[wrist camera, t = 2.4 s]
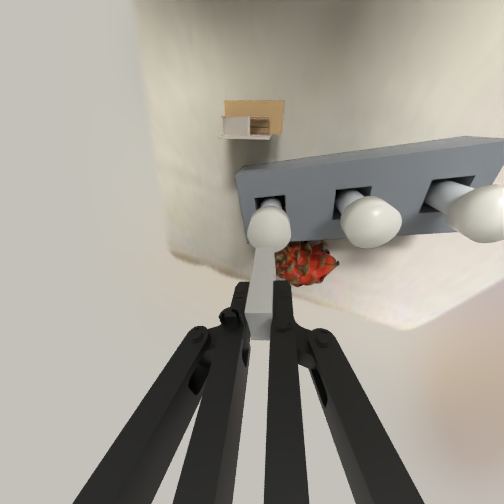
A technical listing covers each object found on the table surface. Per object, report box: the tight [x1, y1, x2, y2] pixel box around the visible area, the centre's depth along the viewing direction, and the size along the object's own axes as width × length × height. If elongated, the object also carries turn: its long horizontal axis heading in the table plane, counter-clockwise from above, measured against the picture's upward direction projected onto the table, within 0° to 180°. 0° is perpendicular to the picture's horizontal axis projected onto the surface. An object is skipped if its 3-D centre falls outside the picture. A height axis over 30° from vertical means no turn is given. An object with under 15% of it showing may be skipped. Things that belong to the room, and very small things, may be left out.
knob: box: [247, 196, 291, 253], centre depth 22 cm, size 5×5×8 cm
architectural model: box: [218, 101, 284, 140], centre depth 21 cm, size 3×7×7 cm, turn 89°
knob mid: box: [335, 188, 402, 248], centre depth 20 cm, size 5×5×8 cm
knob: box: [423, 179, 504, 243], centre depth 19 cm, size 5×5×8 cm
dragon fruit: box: [274, 240, 339, 287], centre depth 32 cm, size 8×8×12 cm
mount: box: [235, 136, 504, 244], centre depth 25 cm, size 10×28×6 cm, turn 98°
